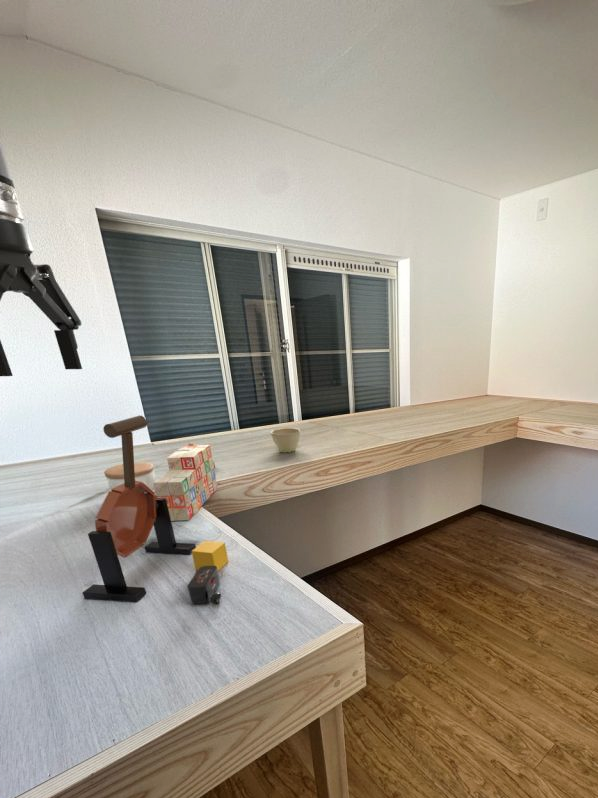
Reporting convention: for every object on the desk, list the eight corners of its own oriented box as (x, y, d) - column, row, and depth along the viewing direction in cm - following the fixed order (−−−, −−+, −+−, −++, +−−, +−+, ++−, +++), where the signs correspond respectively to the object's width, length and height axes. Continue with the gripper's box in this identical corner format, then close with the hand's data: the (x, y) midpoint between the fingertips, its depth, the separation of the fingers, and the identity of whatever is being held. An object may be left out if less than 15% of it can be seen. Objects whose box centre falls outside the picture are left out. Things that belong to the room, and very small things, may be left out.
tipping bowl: (83, 426, 56) (100, 430, 56) (144, 410, 68) (158, 413, 68) (97, 568, 66) (112, 571, 66) (149, 532, 78) (161, 535, 77)
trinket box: (108, 496, 107) (98, 461, 104) (153, 487, 114) (145, 453, 110) (117, 508, 100) (106, 471, 96) (164, 497, 106) (156, 462, 103)
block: (216, 573, 72) (195, 570, 73) (228, 561, 76) (208, 559, 77) (212, 553, 71) (191, 550, 71) (224, 542, 74) (204, 540, 75)
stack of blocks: (189, 521, 93) (178, 468, 88) (160, 522, 92) (147, 469, 88) (218, 488, 112) (210, 443, 107) (194, 489, 112) (185, 444, 107)
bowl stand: (84, 598, 66) (62, 536, 61) (153, 546, 82) (139, 494, 77) (136, 602, 65) (118, 539, 60) (196, 548, 81) (185, 496, 76)
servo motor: (188, 608, 63) (184, 590, 62) (204, 582, 69) (200, 566, 68) (219, 607, 63) (215, 589, 62) (232, 581, 70) (229, 565, 68)
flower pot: (277, 447, 153) (275, 428, 150) (304, 447, 153) (302, 428, 150) (269, 454, 144) (267, 434, 141) (298, 454, 143) (296, 434, 141)
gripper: (-82, 192, 49) (-13, 379, 57) (82, 237, 72) (114, 366, 80) (-136, 195, 50) (-60, 379, 58) (43, 239, 73) (79, 366, 81)
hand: (41, 372), depth 69 cm, fingers open, 13 cm apart
